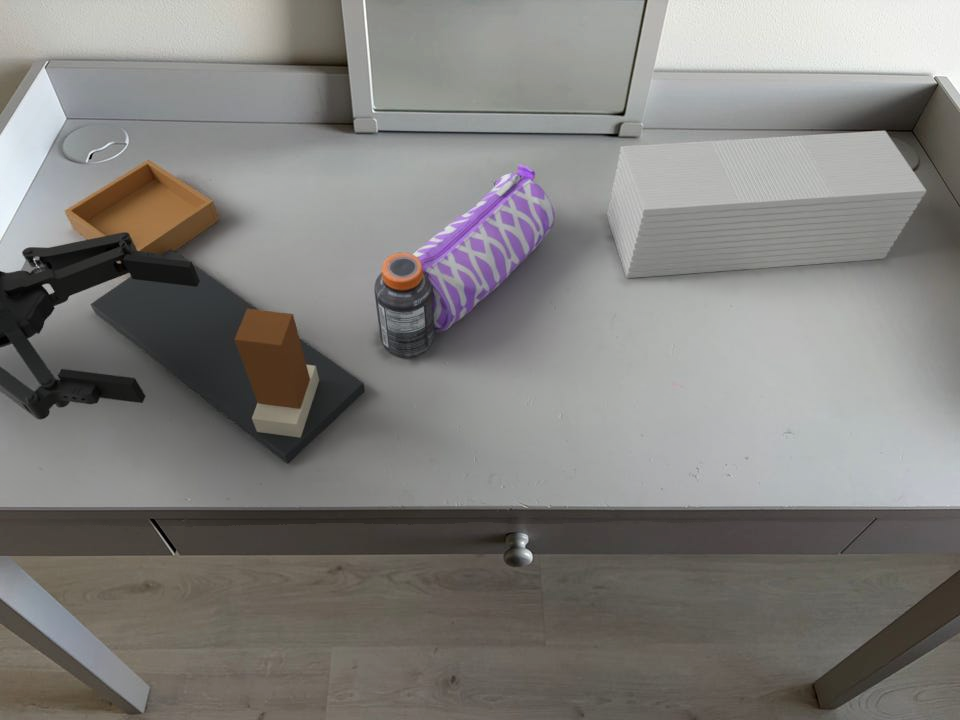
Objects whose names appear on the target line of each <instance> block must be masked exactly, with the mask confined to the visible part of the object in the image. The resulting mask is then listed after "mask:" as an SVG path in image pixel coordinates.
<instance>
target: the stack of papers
mask: <svg viewBox="0 0 960 720" xmlns="http://www.w3.org/2000/svg"><path fill="white" fill-rule="evenodd" d="M612 185H613V186H612V188H611V194H610V199H609V203H608V204H609V205H608V207H607V208H608V209H607V213H606V218H607V221H608V223H609V228H610V230H611V231H610V232H611V233H612V237H613V241H614V243H615V246H616V249H617V253H618V256H619V260H620V261H621V265H622V269H623V273H624V276H625V278H626V279H634V278H648V277H649V278H650V277H661V276H662V277H663V276H672V275H673V276H675V275H688V274H701V273H702V274H703V273H714V272H715V273H716V272H728V271H742V270H755V269H766V268H767V269H768V268H782V267H794V266H795V267H796V266H806V265H807V266H808V265H820V264H821V265H822V264H833V263H834V264H836V263H847V262H848V263H849V262H860V261H861V262H862V261H875V260H884V259H886V257H887V255H888V253H889V252H890V250H891V249H892V248H891V247H893V246H894V244H895V242H896V241H897V239H898V238H899V235H900V234H901V233H902V230H903V229H904V228H905V226H906V223H908V222H909V220H910V217H911V216H912V215H913V213H914V211H915V210H916V209H917V207H918V204H920V202H921V201H922V199H923V197H924V196H925V195H926V193H927V189H926V187H925V186H924V185H923V183H922V182H921V180H920V179H919V177H918V176H917V174H916V173H915V171H914V170H913V168H912V167H911V166H910V164H909V163H908V162H907V160H906V158H905V157H904V156H903V154H902V153H901V151H900V149H898V147H897V145H896V144H895V142H894V141H893V140H892V137H890V135H889V134H888V132H887V130H872V131H870V130H869V131H855V132H838V133H821V134H805V135H788V136H787V135H786V136H772V137H771V136H770V137H754V138H753V137H752V138H737V139H722V140H706V141H688V142H672V143H671V142H669V143H655V144H654V143H653V144H639V145H637V144H636V145H621V146H620V149H619V154H618V160H617V164H616V169H615V173H614V180H613V184H612Z"/></svg>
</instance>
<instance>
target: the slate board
mask: <svg viewBox="0 0 960 720" xmlns="http://www.w3.org/2000/svg"><path fill="white" fill-rule="evenodd" d="M163 255H164V257H165V259H172V260H181V261H189V260H187V258H185V257H184V256H182V255H180V254H179V253H178V252H176V250H175V251H173V250H172V249H170V250H168V251H167V252H166V253H164V254H163ZM193 265H194V268H195V270H196V273H197V275H198V278H199V280H200V282H199V284H198V286H197V287H195V286H186V285H178V284H169V283H161V282H153V281H144V280H136V279H132V277H131V276H129V277H128V278H126V279H125V280H123V281H121V282H120V283H119V284H118V285H116V286H115V287H113V288H112V289H110V290H109V291H107V292H106V293H105V294H103V295H102V296H100V297H99V298H97V299H96V300H94V301H93V302H91V303H90V306H91V308H92V310H93V312H94V314H96V315H97V316H98V317H99V318H101V320H103V321H104V322H106V323H107V324H108V325H110V326H111V327H112V328H113V329H114V330H116V331H117V332H118V333H120V334H121V335H122V336H124V337H125V338H126V339H128V340H129V341H130V342H131V343H133V344H134V345H135V346H136V347H138V348H139V349H140V350H142V351H143V352H144V353H145V354H146V355H148V356H149V357H150V358H151V359H153V360H154V361H155V362H156V363H158V364H159V365H161V366H162V367H163V368H164V369H166V370H167V371H168V372H170V373H171V374H172V375H173V376H175V377H176V378H177V379H178V380H180V381H181V382H182V383H184V384H185V385H186V386H188V387H189V388H190V389H191V390H192V391H193V392H195V393H196V394H197V395H199V396H200V397H201V398H203V399H204V400H205V401H207V402H208V403H209V404H210V405H212V406H213V407H214V408H216V409H217V410H218V411H219V412H221V413H222V414H224V415H225V416H226V417H227V418H228V419H229V420H231V421H232V422H233V423H235V424H236V425H237V426H239V428H241V429H242V430H244V431H245V432H246V433H247V434H248V435H250V436H251V437H253V438H254V439H255V440H257V441H258V442H259V443H260V444H262V446H264V447H265V448H267V449H268V450H269V451H270V452H272V453H273V455H276V456H277V457H278V458H279V459H281V461H283V462H285V464H289V463H291V461H292V460H293V459H295V458H296V457H297V456H298V455H299V454H300V453H301V452H302V451H303V450H304V449H305V448H307V446H309V445H310V443H312V442H313V441H314V440H315V439H316V438H317V437H318V436H319V435H320V434H321V433H322V432H323V431H324V430H326V429H327V428H328V427H329V426H330V425H332V423H333V422H334V421H335V420H336V419H337V418H338V417H340V415H342V414H343V413H344V412H345V411H346V410H347V409H348V408H349V407H350V406H351V405H352V404H353V403H354V402H355V401H356V400H358V399H359V397H361V396H362V395H363V394H364V393H365V384H364V382H363V381H361V380H360V379H358V378H357V377H356V376H355V375H353V374H352V373H350V372H349V371H347V370H346V369H344V368H343V367H341V366H340V365H338V364H337V363H335V362H334V361H332V360H331V359H330V358H329V357H327V356H325V355H324V354H323V353H321V352H320V351H318V350H317V349H315V348H314V347H313V346H311V345H310V344H308V343H307V342H305V341H304V340H303V339H301V338H300V337H299V339H300V343H301V347H302V350H303V354H304V358H305V362H306V365H313V366H316V369H317V373H318V377H319V383H318V386H317V389H316V392H315V395H314V398H313V401H312V404H311V407H310V410H309V414H308V417H307V420H306V423H305V426H304V429H303V432H302V435H301V438H299V437H292V436H284V435H277V434H269V433H262V432H257V430H256V428H255V425H254V423H253V420H252V417H253V414H254V411H255V409H256V406H257V403H258V401H257V399H256V396H255V393H254V391H253V388H252V385H251V383H250V380H249V377H248V375H247V372H246V369H245V367H244V364H243V361H242V358H241V356H240V353H239V350H238V348H237V345H236V342H235V337H236V334H237V332H238V330H239V327H240V325H241V323H242V320H243V318H244V315H245V313H246V311H247V309H256V310H259V309H258V308H256V307H255V306H253V304H252V303H251V304H250V302H248V301H246V300H245V299H244V298H242V297H241V296H239V295H238V294H236V293H235V292H234V291H232V289H230V288H228V287H226V285H224V284H222V283H220V282H219V281H218V280H217V279H215V278H213V277H212V276H211V275H210V274H208V273H206V272H205V271H204V270H202V269H201V268H199V267H198V266H196V265H195V264H193Z"/></svg>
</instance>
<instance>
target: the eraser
mask: <svg viewBox="0 0 960 720" xmlns="http://www.w3.org/2000/svg"><path fill="white" fill-rule="evenodd" d="M256 309H257V308H256ZM256 309H247V311H246V313H245V315H244V318H243V320H242V323H241V325H240V327H239V330H238V332H237V334H236V337H235V342H236V345H237V348H238V350H239V353H240V356H241V358H242V361H243V364H244V367H245V369H246V372H247V375H248V377H249V380H250V383H251V385H252V388H253V391H254V393H255V396H256V399H257V401H258V403H257V406H256V409H255V411H254V414H253V417H252V420H253V423H254V425H255V428H256V430H257V432H262V433H269V434H277V435H284V436H292V437H299V438H301V435H302V432H303V429H304V426H305V423H306V420H307V417H308V414H309V410H310V407H311V404H312V401H313V398H314V395H315V392H316V389H317V386H318V383H319V377H318V373H317V369H316V366H313V365H306V362H305V358H304V354H303V350H302V347H301V343H300V339H301V338H300V336H299V332H298V328H297V324H296V321H295V316H294V314H293V313H287V312H280V311H270V310H263V309H258V310H256ZM299 338H300V339H299Z"/></svg>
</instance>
